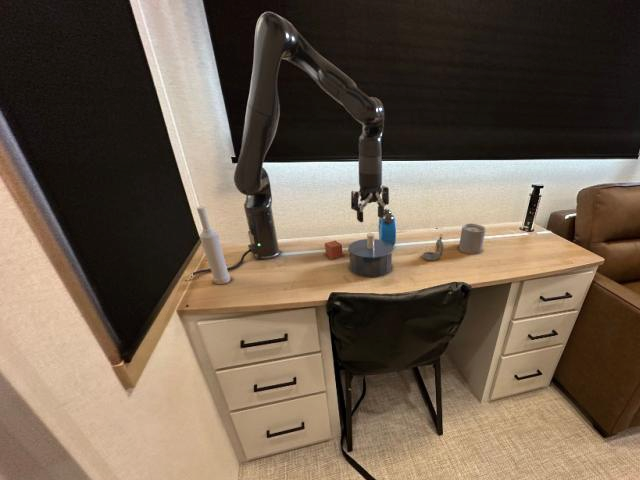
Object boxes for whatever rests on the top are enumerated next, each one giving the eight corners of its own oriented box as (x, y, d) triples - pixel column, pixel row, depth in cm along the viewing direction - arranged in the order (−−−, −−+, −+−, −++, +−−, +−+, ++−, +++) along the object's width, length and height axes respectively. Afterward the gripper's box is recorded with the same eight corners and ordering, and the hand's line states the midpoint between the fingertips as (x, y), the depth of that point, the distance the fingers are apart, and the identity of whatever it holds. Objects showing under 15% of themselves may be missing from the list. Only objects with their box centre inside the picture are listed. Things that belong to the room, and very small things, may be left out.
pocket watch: (419, 257, 130) (421, 234, 124) (431, 251, 135) (434, 229, 130) (434, 264, 125) (437, 240, 120) (447, 257, 130) (450, 235, 125)
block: (331, 259, 125) (330, 247, 122) (325, 254, 128) (324, 243, 125) (342, 256, 127) (342, 244, 125) (336, 251, 130) (335, 240, 128)
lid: (365, 264, 107) (365, 247, 103) (339, 248, 117) (338, 232, 114) (402, 252, 116) (403, 237, 113) (375, 238, 126) (375, 223, 123)
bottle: (217, 276, 109) (195, 204, 95) (233, 276, 109) (213, 205, 96) (211, 284, 104) (187, 210, 91) (227, 284, 105) (205, 210, 91)
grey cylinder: (484, 253, 136) (489, 231, 130) (462, 254, 135) (466, 231, 129) (474, 241, 147) (478, 220, 141) (454, 241, 146) (457, 220, 140)
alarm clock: (395, 251, 134) (396, 216, 125) (381, 251, 133) (381, 216, 124) (391, 239, 144) (392, 206, 136) (378, 239, 143) (378, 206, 135)
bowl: (366, 281, 111) (365, 262, 107) (342, 264, 121) (341, 246, 117) (399, 269, 120) (400, 251, 116) (374, 255, 130) (375, 237, 125)
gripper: (380, 166, 108) (380, 213, 116) (345, 170, 100) (347, 220, 108) (394, 170, 103) (393, 218, 112) (358, 175, 95) (360, 226, 104)
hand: (370, 219), depth 110 cm, fingers open, 8 cm apart
